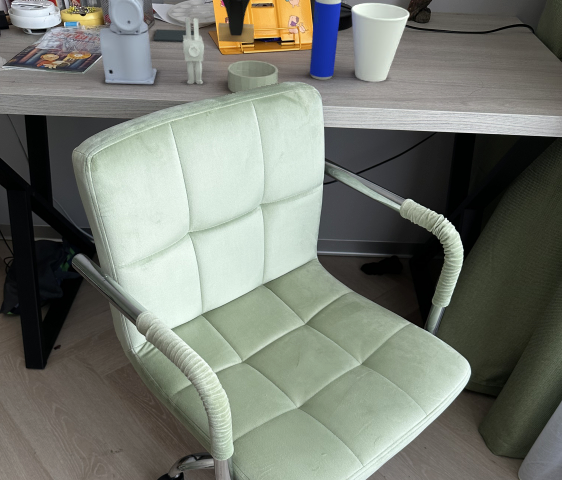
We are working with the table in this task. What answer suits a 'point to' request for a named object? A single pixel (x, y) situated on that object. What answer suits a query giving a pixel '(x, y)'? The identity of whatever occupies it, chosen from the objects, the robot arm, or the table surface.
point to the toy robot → (193, 52)
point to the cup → (376, 38)
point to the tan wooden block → (245, 36)
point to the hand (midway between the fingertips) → (236, 32)
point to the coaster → (170, 35)
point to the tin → (251, 75)
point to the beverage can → (324, 38)
